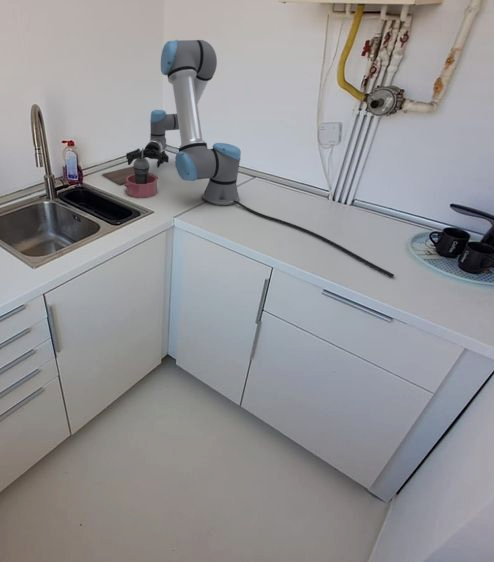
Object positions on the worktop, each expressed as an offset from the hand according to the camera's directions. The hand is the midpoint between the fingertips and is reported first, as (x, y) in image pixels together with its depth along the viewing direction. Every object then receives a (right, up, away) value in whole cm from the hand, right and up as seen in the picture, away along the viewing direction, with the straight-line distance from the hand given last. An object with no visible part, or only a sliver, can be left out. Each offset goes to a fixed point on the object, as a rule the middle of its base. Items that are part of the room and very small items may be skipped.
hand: (143, 163), depth 167 cm
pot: (-1, -12, +4) cm, 12 cm away
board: (-8, 0, +20) cm, 22 cm away
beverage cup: (-1, -12, +4) cm, 13 cm away
